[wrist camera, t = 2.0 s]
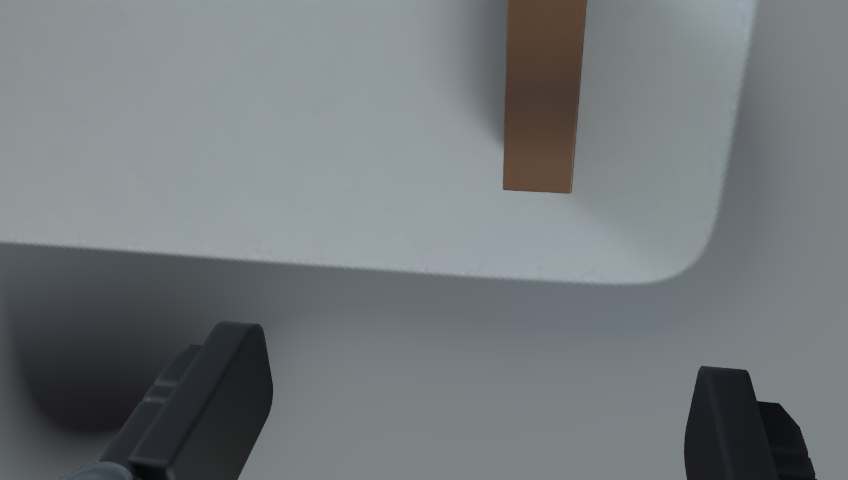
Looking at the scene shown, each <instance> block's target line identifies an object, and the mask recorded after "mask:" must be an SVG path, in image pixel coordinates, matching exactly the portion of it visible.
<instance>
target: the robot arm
mask: <svg viewBox="0 0 848 480" xmlns="http://www.w3.org/2000/svg"><path fill="white" fill-rule="evenodd" d="M272 397H273V383H272V377H271V371H270V366H269V360H268V354H267V348H266V342H265V337H264V332H263V329H262V327H261V326H260V325H259V324H252V323H241V322H231V321H220V322H219V323H217V325H216V326H215V328H214V329H213V330H212V332H211V334H210V335H209V337H208V338H207V339H206V341H205V342H204V344H203V345H202V346H201V345H190V346H188V347H187V348H186V349H184V350H183V351H182V352H180V353H179V354H178V355H177V356H175V357H174V358H172V359H171V360H170V361H168V363H167V364H166V366H165V367H164V368H163V370H162V371H161V373H160V374H159V376H158V377H157V378H156V380H155V384H154V385H152V386H151V387H150V388H149V390H148V391H147V393H146V394H145V396H144V397H143V402H140V403H139V404H138V406H137V407H136V409H135V410H134V411H133V413H132V414H131V416H130V417H129V419H128V420H127V421H126V423H125V424H124V426H123V427H122V428H121V430H120V431H119V433H118V434H117V436H116V437H115V438H114V440H113V441H112V443H111V444H110V445H109V447H108V448H107V450H106V451H105V453H104V454H103V456H102V457H101V458H100V460H99V461H98V462H95V463H90V464H86V465H83V466H80V467H78V468H75V469H73V470H72V471H70V472H68V473H66V474H65V475H63V476H62V477H61V478H59V479H58V480H237V479H238V477H239V475H240V473H241V471H242V469H243V467H244V465H245V463H246V461H247V459H248V457H249V455H250V453H251V450H252V449H253V446H254V444H255V442H256V440H257V438H258V436H259V434H260V432H261V430H262V428H263V426H264V424H265V422H266V420H267V418H268V415H269V412H270V409H271V405H272ZM684 459H685V468H686V475H687V480H817V479H815V471H814V468H813V465H812V462H811V459H810V458H808V451H807V448H806V445H805V442H804V439H803V436H802V433H801V430H800V427H799V426H798V425H797V424H796V422H795V421H794V420H793V419H792V418H791V417H790V415H789V414H788V413H787V412H786V411H785V410H784V409H783V407H782V406H781V405H780V404H779V403H769V402H760V401H757V400H756V397H755V393H754V390H753V386H752V382H751V379H750V376H749V373H748V372H747V371H746V370H740V369H730V368H719V367H708V366H701V367H700V369H699V371H698V375H697V380H696V384H695V389H694V394H693V398H692V403H691V408H690V412H689V417H688V422H687V426H686V433H685V443H684Z"/></svg>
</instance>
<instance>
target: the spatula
mask: <svg viewBox="0 0 848 480" xmlns="http://www.w3.org/2000/svg"><path fill="white" fill-rule="evenodd" d="M586 5H587V0H508V15H507V52H506V90H505V128H504V165H503V190H513V191H532V192H551V193H571V192H572V180H573V168H574V155H575V143H576V130H577V118H578V105H579V93H580V80H581V68H582V55H583V43H584V30H585V18H586Z"/></svg>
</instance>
